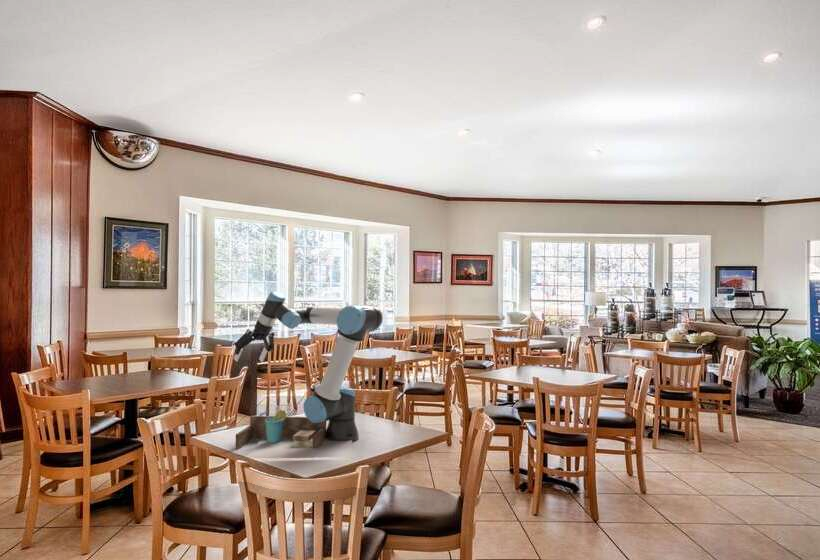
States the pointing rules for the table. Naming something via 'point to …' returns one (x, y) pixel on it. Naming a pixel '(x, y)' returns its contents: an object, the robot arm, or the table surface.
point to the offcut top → (304, 435)
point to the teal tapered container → (274, 426)
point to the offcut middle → (303, 443)
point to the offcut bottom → (299, 446)
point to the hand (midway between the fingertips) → (248, 360)
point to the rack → (288, 429)
